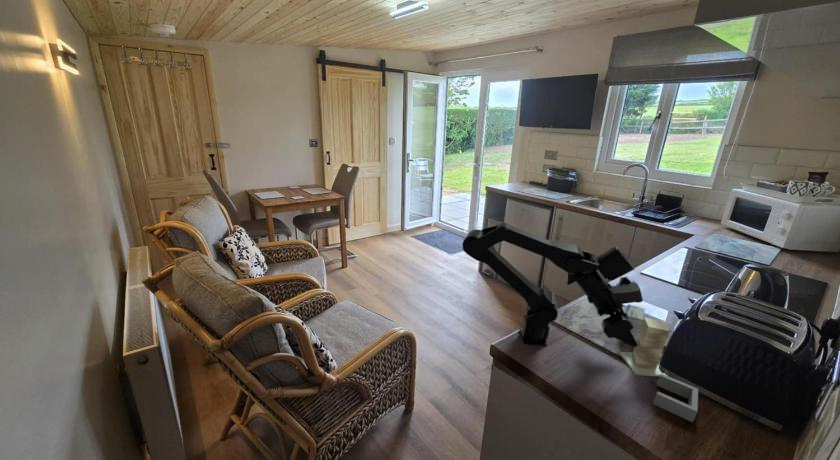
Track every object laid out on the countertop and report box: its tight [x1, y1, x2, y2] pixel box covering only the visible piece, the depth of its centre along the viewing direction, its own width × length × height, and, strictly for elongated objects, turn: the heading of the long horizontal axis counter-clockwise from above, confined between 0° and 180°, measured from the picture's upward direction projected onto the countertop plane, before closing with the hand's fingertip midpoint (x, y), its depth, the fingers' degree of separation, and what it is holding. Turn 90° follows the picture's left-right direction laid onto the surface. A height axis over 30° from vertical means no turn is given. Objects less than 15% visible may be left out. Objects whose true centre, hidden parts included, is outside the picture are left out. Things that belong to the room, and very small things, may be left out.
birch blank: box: [632, 316, 670, 371], centre depth 87 cm, size 4×4×12 cm
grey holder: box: [653, 374, 699, 423], centre depth 77 cm, size 7×8×3 cm
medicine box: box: [624, 303, 645, 341], centre depth 99 cm, size 8×4×9 cm, turn 148°
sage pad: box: [619, 351, 669, 377], centre depth 89 cm, size 8×8×1 cm
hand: (631, 335), depth 88 cm, fingers open, 9 cm apart
